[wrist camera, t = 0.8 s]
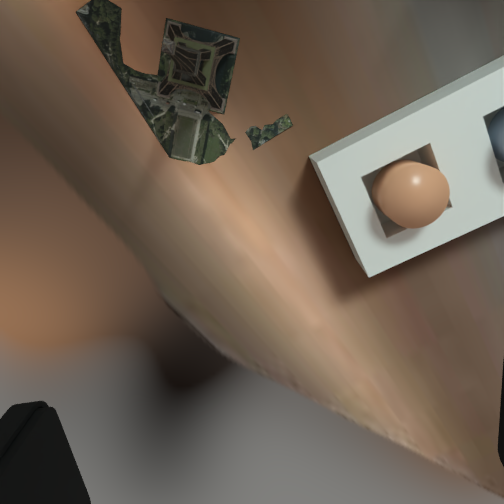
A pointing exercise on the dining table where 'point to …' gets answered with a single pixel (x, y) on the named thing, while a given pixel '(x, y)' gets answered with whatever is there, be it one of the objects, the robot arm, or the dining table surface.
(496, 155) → the slate blue button
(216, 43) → the eiffel tower figurine
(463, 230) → the white button panel
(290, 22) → the dining table surface
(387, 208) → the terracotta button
